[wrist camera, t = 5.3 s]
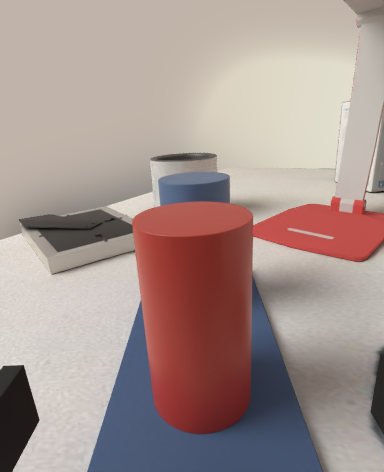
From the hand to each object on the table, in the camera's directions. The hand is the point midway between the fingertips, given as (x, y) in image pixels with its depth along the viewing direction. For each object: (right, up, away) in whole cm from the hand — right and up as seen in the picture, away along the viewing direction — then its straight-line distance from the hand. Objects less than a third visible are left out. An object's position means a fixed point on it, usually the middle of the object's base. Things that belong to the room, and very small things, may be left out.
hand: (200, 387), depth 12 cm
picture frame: (-18, +5, +41) cm, 45 cm away
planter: (-1, +10, +51) cm, 52 cm away
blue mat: (0, -3, +15) cm, 16 cm away
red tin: (0, -5, +9) cm, 10 cm away
